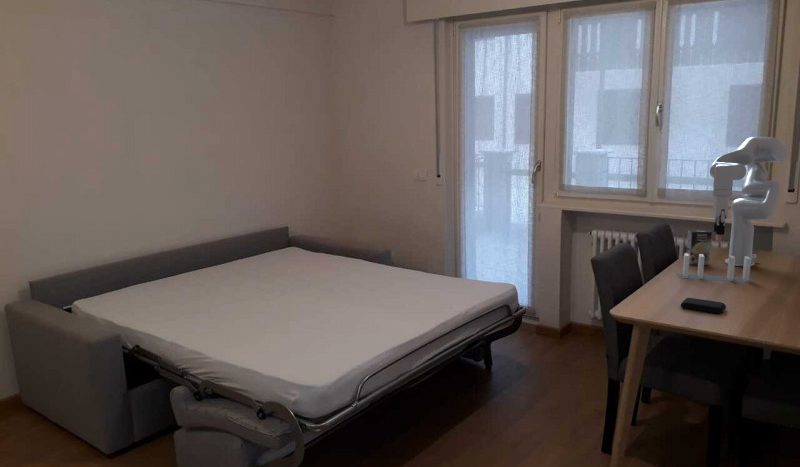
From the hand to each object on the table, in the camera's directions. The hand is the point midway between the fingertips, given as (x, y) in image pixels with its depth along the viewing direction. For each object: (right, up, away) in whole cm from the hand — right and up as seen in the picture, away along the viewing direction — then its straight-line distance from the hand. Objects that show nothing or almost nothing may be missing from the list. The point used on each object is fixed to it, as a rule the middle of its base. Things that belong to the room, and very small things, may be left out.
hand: (718, 232), depth 276 cm
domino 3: (+2, -20, -6) cm, 21 cm away
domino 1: (-15, -19, 0) cm, 25 cm away
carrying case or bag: (-28, -29, -42) cm, 58 cm away
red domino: (0, -3, +1) cm, 3 cm away
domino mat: (-4, -20, -4) cm, 21 cm away
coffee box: (+2, -15, +25) cm, 29 cm away
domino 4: (+8, -21, -7) cm, 23 cm away
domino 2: (-9, -20, -2) cm, 22 cm away
